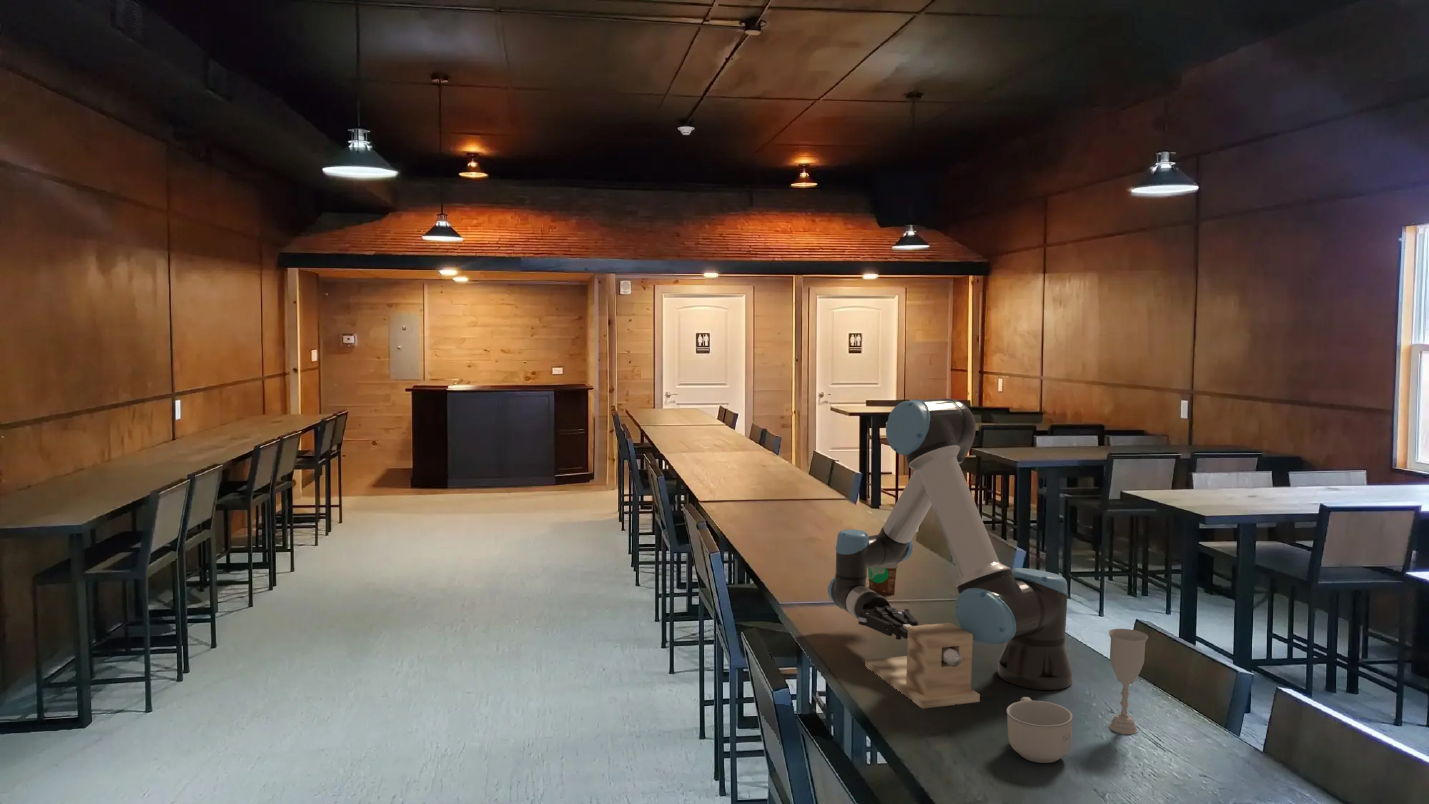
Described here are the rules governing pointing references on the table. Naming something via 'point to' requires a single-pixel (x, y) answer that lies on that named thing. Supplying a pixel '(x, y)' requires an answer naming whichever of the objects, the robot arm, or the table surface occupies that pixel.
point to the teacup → (1039, 730)
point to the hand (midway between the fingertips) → (921, 640)
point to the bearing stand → (931, 667)
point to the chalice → (1126, 671)
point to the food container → (883, 578)
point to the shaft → (950, 655)
